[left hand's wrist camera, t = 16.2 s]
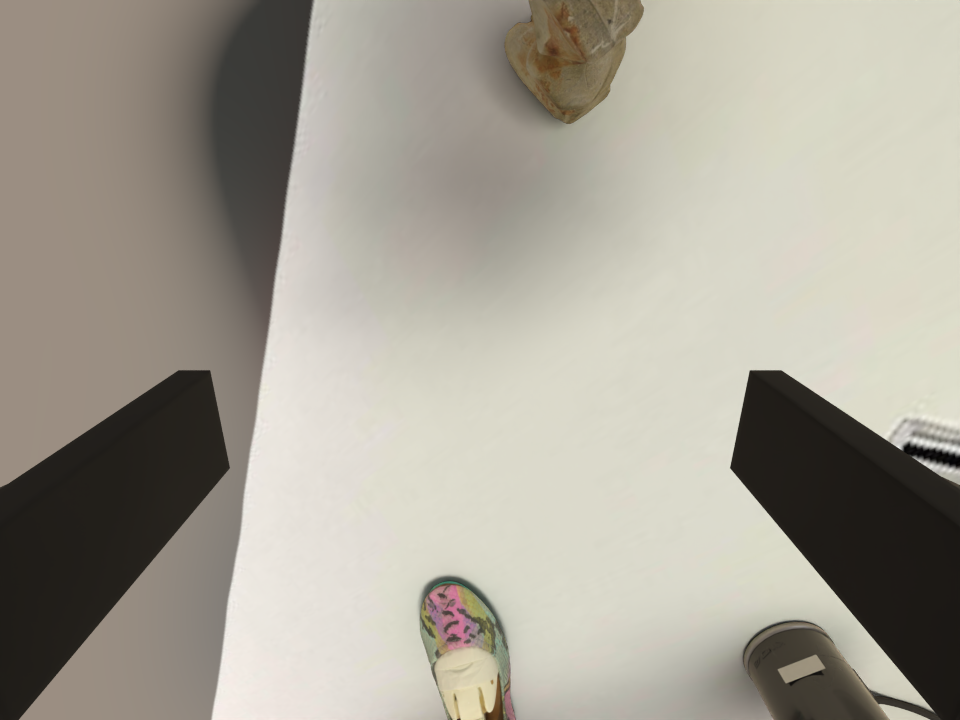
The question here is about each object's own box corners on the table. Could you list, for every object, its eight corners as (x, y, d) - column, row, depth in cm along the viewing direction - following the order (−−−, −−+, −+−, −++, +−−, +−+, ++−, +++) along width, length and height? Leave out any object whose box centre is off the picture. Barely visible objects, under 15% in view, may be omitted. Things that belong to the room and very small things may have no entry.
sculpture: (561, -8, 34) (619, -133, 20) (614, 91, 36) (700, 41, 22) (489, 49, 35) (496, -32, 21) (544, 142, 37) (584, 125, 23)
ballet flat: (492, 568, 51) (495, 642, 43) (528, 728, 60) (535, 815, 52) (412, 579, 52) (399, 655, 44) (458, 736, 60) (455, 824, 52)
